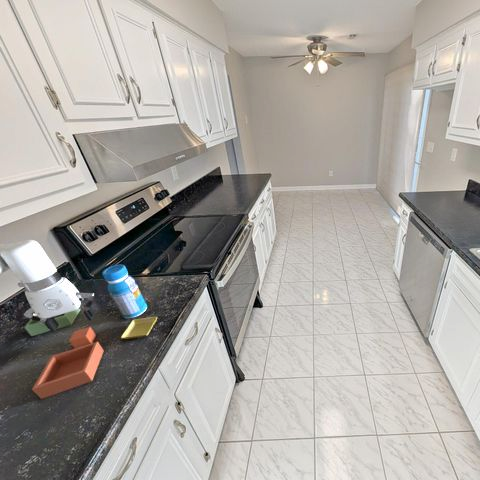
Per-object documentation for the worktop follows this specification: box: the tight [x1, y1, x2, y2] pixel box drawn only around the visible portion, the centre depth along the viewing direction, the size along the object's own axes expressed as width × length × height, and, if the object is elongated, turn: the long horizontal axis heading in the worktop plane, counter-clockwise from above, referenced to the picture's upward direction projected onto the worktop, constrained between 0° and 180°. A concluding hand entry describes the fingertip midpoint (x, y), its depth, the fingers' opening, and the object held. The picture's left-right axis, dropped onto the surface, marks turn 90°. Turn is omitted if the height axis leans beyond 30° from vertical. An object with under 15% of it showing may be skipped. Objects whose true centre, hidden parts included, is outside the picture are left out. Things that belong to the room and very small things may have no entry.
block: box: [68, 326, 97, 349], centre depth 85 cm, size 4×4×4 cm
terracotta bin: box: [31, 341, 105, 400], centre depth 75 cm, size 12×12×5 cm
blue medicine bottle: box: [101, 263, 148, 319], centre depth 94 cm, size 8×8×20 cm
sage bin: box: [24, 304, 82, 337], centre depth 96 cm, size 12×12×5 cm
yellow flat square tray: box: [120, 316, 158, 340], centre depth 89 cm, size 9×9×2 cm
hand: (74, 323), depth 82 cm, fingers open, 9 cm apart
